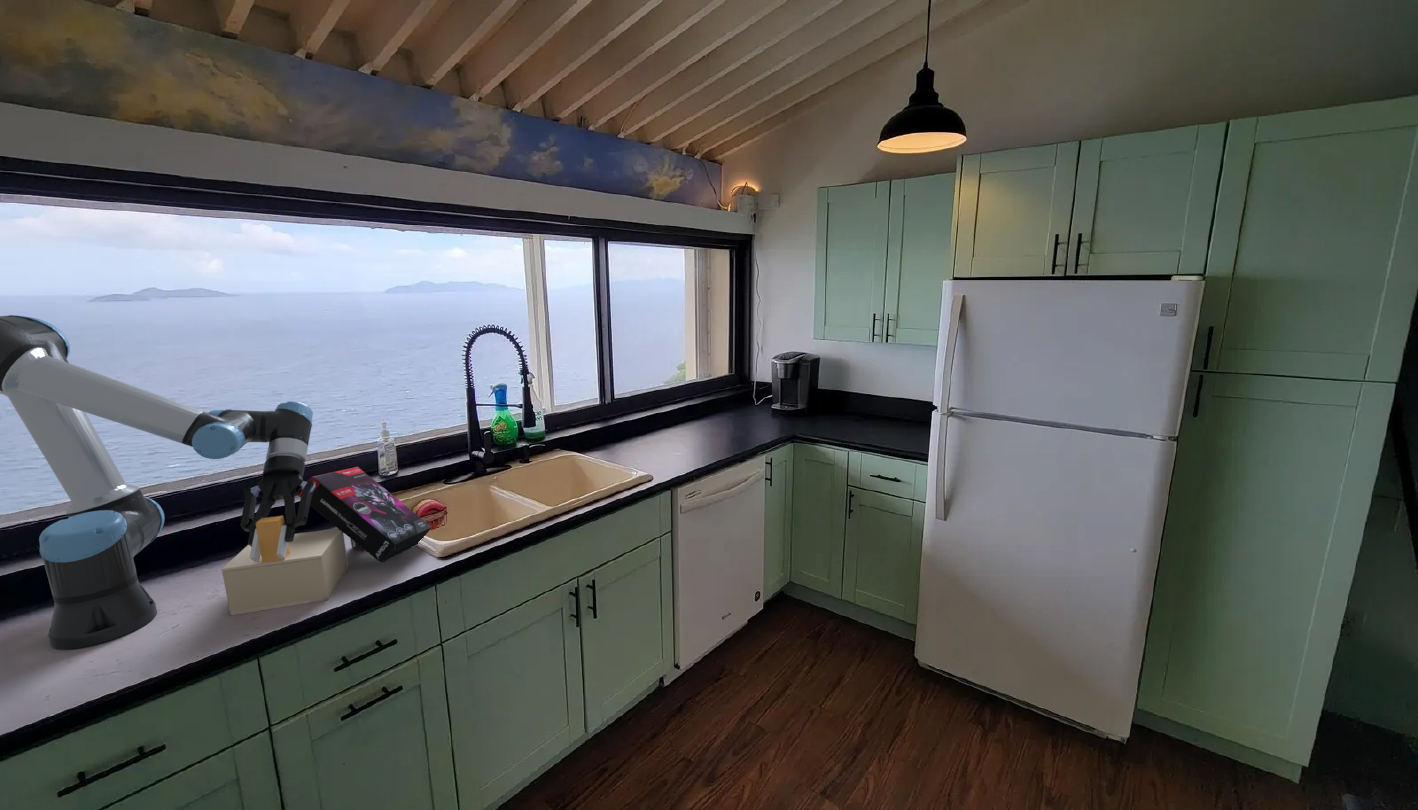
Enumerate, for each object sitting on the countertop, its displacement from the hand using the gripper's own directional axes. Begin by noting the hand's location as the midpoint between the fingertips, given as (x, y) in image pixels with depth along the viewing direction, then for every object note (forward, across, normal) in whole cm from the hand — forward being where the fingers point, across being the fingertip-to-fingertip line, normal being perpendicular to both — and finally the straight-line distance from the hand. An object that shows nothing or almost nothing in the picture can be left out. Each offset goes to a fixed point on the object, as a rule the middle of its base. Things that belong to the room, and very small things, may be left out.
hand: (267, 557), depth 118 cm
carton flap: (-5, 0, -9) cm, 10 cm away
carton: (+2, 0, -16) cm, 16 cm away
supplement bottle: (-13, -10, -31) cm, 35 cm away
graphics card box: (-6, -23, -20) cm, 31 cm away
